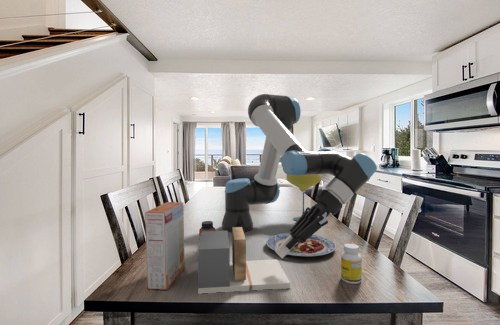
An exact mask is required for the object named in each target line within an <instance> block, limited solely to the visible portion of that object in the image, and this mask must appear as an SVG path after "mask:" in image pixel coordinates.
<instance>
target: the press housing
mask: <svg viewBox="0 0 500 325" xmlns="http://www.w3.org/2000/svg"><path fill="white" fill-rule="evenodd" d="M230 248H231V247H230V240H229V231H225V230H216V231H202V233H201V237H200V242H198V248H197V279H198V280H197V284H198V286H197V287H198V288H197V290H198V295H202V294H201V293H208V294H217V293H216V292H225V293H234V292H233V291H241V292H250V291H249V290H257V291H264V290H263V289H273V290H287V288H290V289H291V282H290V280H289V278H288V276H287V274H286V273H285V271H284V269H283V267H282V266H281V264H280V262H279V260H278V259H260V260H258V259H257V260H246V280H237V281H235V279H234V271H233V264H232V261H231V260H230V257H231V256H230V254H231V250H230ZM230 291H232V292H230Z"/></svg>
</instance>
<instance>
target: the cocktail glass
mask: <svg viewBox="0 0 500 325" xmlns="http://www.w3.org/2000/svg"><path fill="white" fill-rule="evenodd" d="M321 178H322V174H319V175H301V176H295V175H287V174H286V180H287V182H288V183H289V184H291V185H292V186H295V187H296V188H298V190H300V192H301V193H302V213H301V215H302V214H303V213H304V212H305V193H306V192H307V190H308V189H310V188H311V187H313V186H315V185H317V184H319V183H320V182H321V181H322V180H321ZM300 217H301V216H296V217H293V218H292V220H293V221H295V222H297V221H298V219H299V218H300Z"/></svg>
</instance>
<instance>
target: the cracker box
mask: <svg viewBox="0 0 500 325" xmlns="http://www.w3.org/2000/svg"><path fill="white" fill-rule="evenodd" d="M184 210H185V209H184V202H181V201H180V202H179V201H177V202H175V201H167V202H164V203H163V204H160V205H157V206H156V207H154V208H151V209H150V210H147V211H145V213H144V219H145V221H144V222H145V247H146V249H145V250H146V277H147V278H146V282H147V283H146V284H147V290H155V289H159V290H160V291H168V290H169V289H170V287H171V285H173V284H174V282H175V281H176V279H177V278H178V277H179V276H180V275H181V273H182V272H183V271H184V269H185V268H186V264H185V263H186V262H185V261H186V260H185V220H184V219H185V217H184V216H185V215H184ZM159 290H158V291H159Z"/></svg>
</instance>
